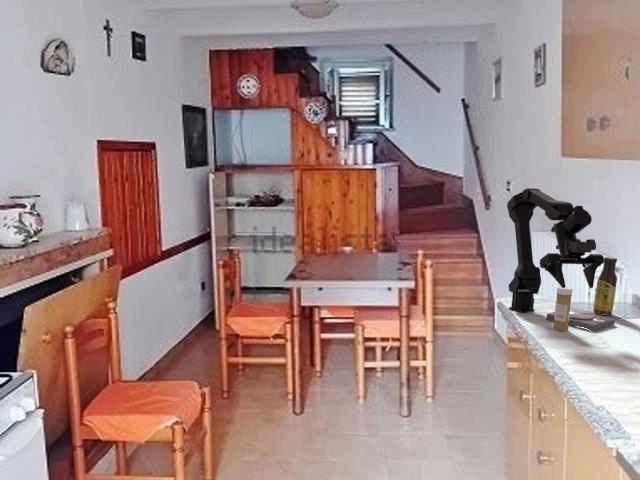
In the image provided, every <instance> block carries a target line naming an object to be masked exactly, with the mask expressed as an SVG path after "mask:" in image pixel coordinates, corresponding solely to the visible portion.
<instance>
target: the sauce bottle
mask: <svg viewBox="0 0 640 480" xmlns="http://www.w3.org/2000/svg"><path fill="white" fill-rule="evenodd" d="M603 257H604V261H605V262H604V263H603V268H602V270H601V272H600V274H599V276H598V277H597V278H598V279H597V281H596V288H595V293H594V301H593V309H592V311H593V312H592V313H594V314H595V315H600V314H603V315H602V316H608V315H607V314H611V315H612V314H613V309H614V304H615V297H616V289H617V282H618V277H617V274H616V265H617V262H618V258H617V257H614V256H603ZM604 314H606V315H604Z"/></svg>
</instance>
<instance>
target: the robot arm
mask: <svg viewBox="0 0 640 480" xmlns="http://www.w3.org/2000/svg"><path fill="white" fill-rule="evenodd" d="M537 207H538V208H540V209H541V210H542V211H544V215H545V216H546V218H547V219H548V220H550V221H558V222H557V223H556V222H555V223H553V226H552V227H551V230H550V231H551V232H552V233H555V238H556V242H557V244H556V245H555V249H556V250H558V252H559V253H557V252H556V253H555V252H554V253H551V252H549V253H547V254H544V255H543V256H542V257H541V258H540V259H539V266H536V265H535V263H534V258H533V257H534V256H533V248H532V247H533V246H532V237H531V226H530V225H531V224H530V221H531V220H532V218H533V216H534V210H535V209H536V208H537ZM506 208H507V211H508V212H507V213H508V217H509V219H510V220H511V221H512V222H513V223H514V229H515V230H514V231H515V240H516V241H515V242H516V243H515V244H516V251H517V253H516V254H517V267H516V269H515V271H514V272H513V275H514V276H513V279H512V280H511V281H510V283H509V284H508V291H509V292H510V293H512V298H511V306H510V307H508V310H511V311H515V312H520V313H523V314H526V313H530V312H534V311H535V310H536V309H535V308H534V305H535V298H534V296H535V295H538V294H539V291H540V288H541V285H542V277H541V269H544V271H547V272H548V273H549V274H550V275H551V276H552V277H553V278H554V279H555V281H556V282H557V283H558V285H559V287H562V288H565V287H566V281H565V278H564V276H565V275H564V272H563V265H582V267H583V269H582V272H583V274H584V278H585V280H586V283H587V286H588V287H589V289H592V288H594V283H595V275H596V272H597V269H598V268H599V267H600V266H602V265H604V262H605V261H604V257H605V256H603V255H602V254H600V253H592V251H595V250H596V249H597V242H596V240H595V238H592V239H591V238H590V239H586V241H581V239H580V238H577V234H578V233H580V232H582V231H583V230H584V229H585V228H587V227H588V226H590V224H591V223H592V216H591V214H590V213H589V211H587V210H586V209H584V207H583V205H575V206H574V205H573V204H572V202H568V201H563V200H557V199H555V198H553V197H551V196H550V195H548V194H546V193H545V192H543V191H542V190H541V189H539V188H532V187H531V188H530V187H527V188H525V189H523V190H522V191H521V192H519V193H517V194H515V195H513V196H512V197H511V198H510V199H509V200H508V201H507V204H506ZM586 253H589V254H588V255H587V256H586V257H583V256H585V255H586ZM534 294H535V295H534Z"/></svg>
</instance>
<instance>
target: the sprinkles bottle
mask: <svg viewBox="0 0 640 480" xmlns="http://www.w3.org/2000/svg"><path fill="white" fill-rule="evenodd" d="M573 291H574V290H573V288H572V287H569V286H565V288H562V287H561V286H557V287H556V300H555V309H554V312H555V317H554V322H553V330H554V331H557V332H561V331H562V332H564V331H566V332H568V331H569V317H570V308H571V303H572V297H573V296H572V295H573Z"/></svg>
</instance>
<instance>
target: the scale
mask: <svg viewBox="0 0 640 480" xmlns="http://www.w3.org/2000/svg"><path fill="white" fill-rule="evenodd" d="M554 317H555V311H554V312H553V311H552V312H548V313H546V319H545V320H547V321H550V322H553V323H554ZM615 322H616V319H615V318H611V317H606V316H604V315H599V314H594V319H591V320H578V319H571V318H569V325H573V326H579V327H584V328H587V329H589V330H591V331H590V332H592V331H593V332H596V331H600V330H602V329H607V328H609V327H610V328H611V327H613V326H612V325H614V326H615ZM569 325H568V326H569ZM573 326H572V327H573ZM589 330H588V331H589Z"/></svg>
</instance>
